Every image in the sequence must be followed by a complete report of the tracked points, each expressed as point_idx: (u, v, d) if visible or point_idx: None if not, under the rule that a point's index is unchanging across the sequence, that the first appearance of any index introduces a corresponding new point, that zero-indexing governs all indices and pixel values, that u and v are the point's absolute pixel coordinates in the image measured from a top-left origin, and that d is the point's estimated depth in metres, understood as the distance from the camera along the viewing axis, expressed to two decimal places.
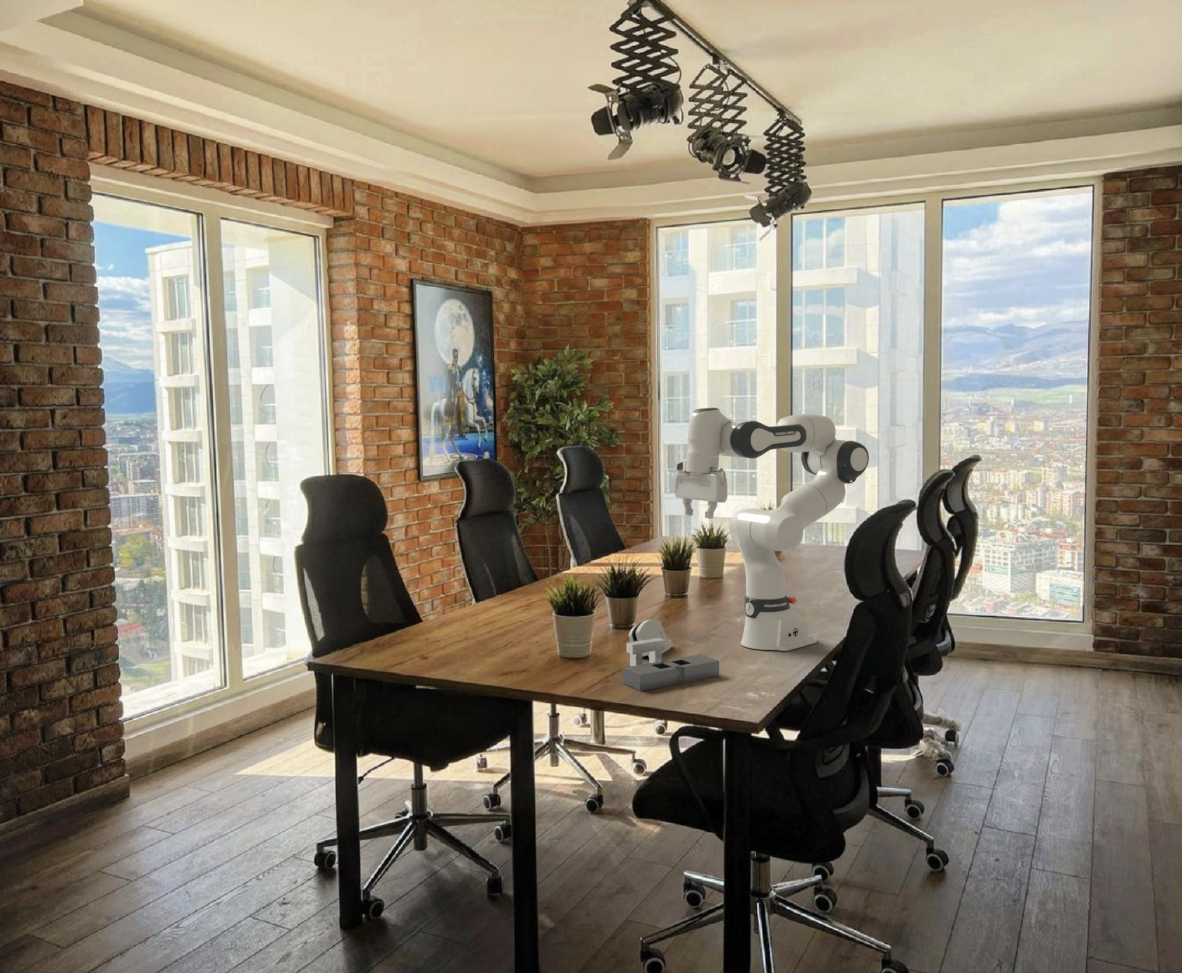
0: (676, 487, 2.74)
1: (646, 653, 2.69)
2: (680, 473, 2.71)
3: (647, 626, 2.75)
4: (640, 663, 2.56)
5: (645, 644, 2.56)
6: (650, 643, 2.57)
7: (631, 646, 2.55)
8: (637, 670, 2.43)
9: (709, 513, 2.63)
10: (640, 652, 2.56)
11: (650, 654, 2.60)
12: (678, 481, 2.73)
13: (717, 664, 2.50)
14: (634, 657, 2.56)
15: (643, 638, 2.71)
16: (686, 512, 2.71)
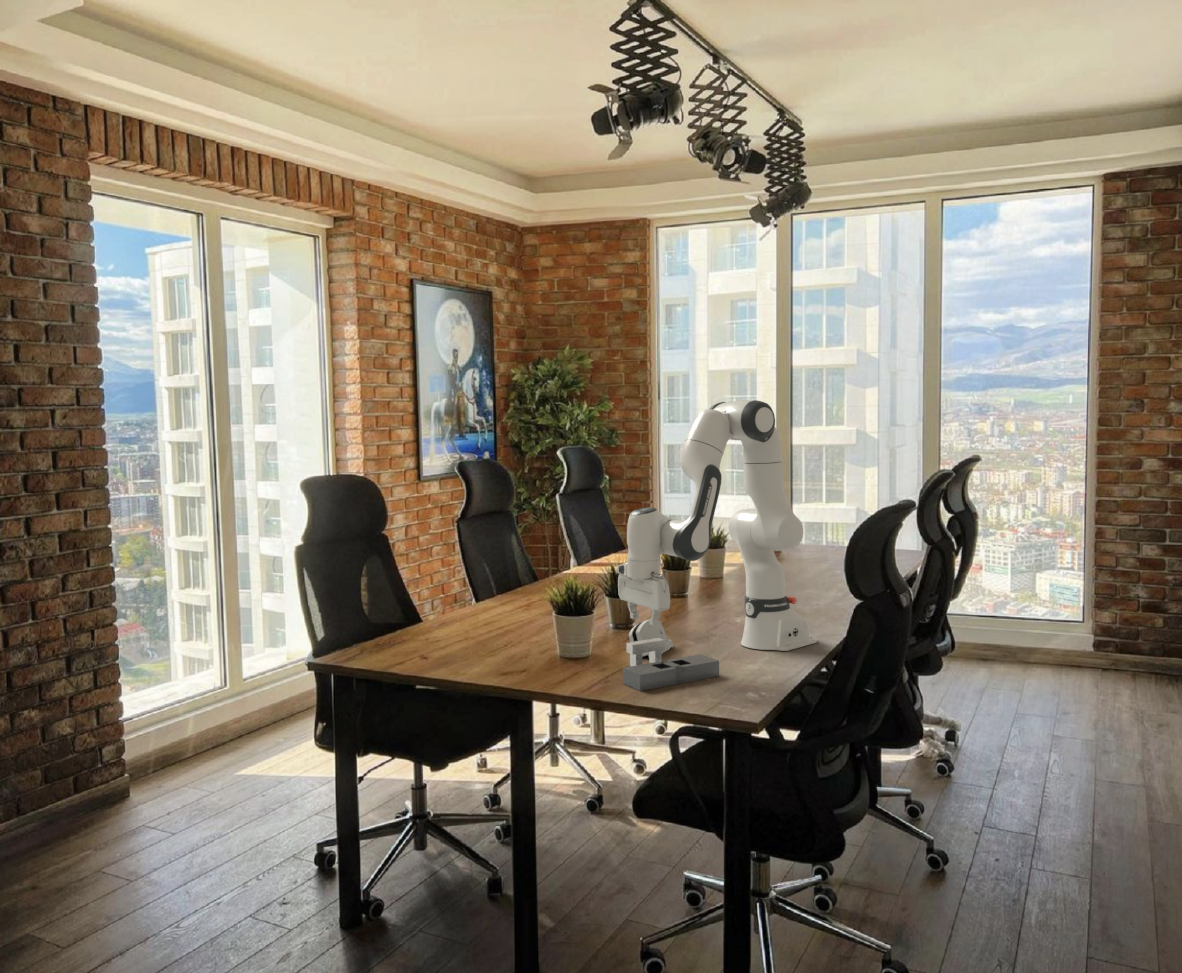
0: (620, 589, 2.63)
1: (646, 653, 2.69)
2: (622, 576, 2.61)
3: (647, 626, 2.75)
4: (640, 663, 2.56)
5: (645, 644, 2.56)
6: (650, 643, 2.57)
7: (631, 646, 2.55)
8: (637, 670, 2.43)
9: (653, 620, 2.52)
10: (640, 652, 2.56)
11: (650, 654, 2.60)
12: (621, 583, 2.63)
13: (717, 664, 2.50)
14: (634, 657, 2.56)
15: (643, 638, 2.71)
16: (631, 616, 2.61)
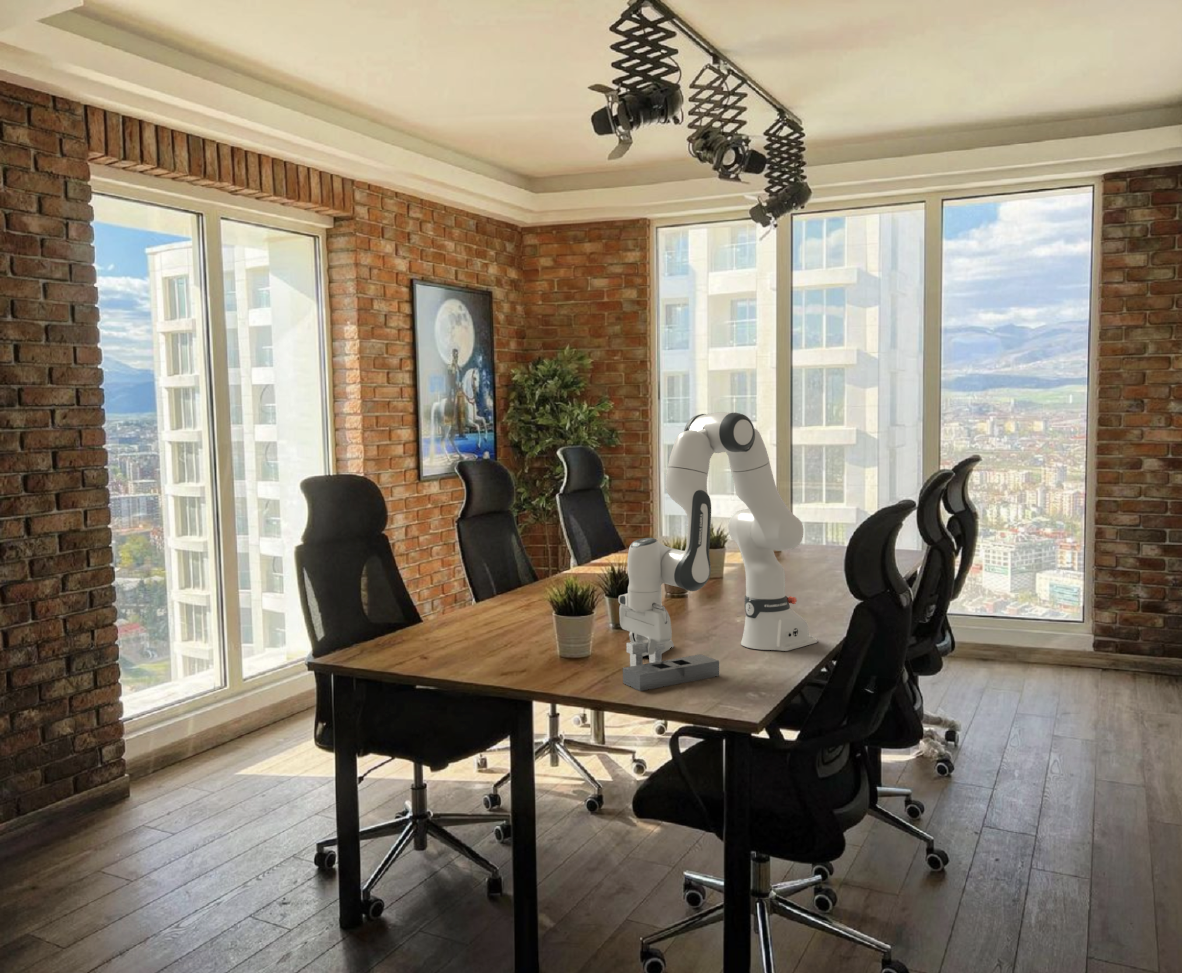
0: (621, 619, 2.64)
1: (646, 653, 2.69)
2: (623, 606, 2.61)
3: None
4: (640, 663, 2.56)
5: (645, 644, 2.56)
6: None
7: (631, 646, 2.55)
8: (637, 670, 2.43)
9: (650, 649, 2.55)
10: (640, 652, 2.56)
11: None
12: (623, 613, 2.63)
13: (717, 664, 2.50)
14: (634, 657, 2.56)
15: (643, 638, 2.71)
16: None
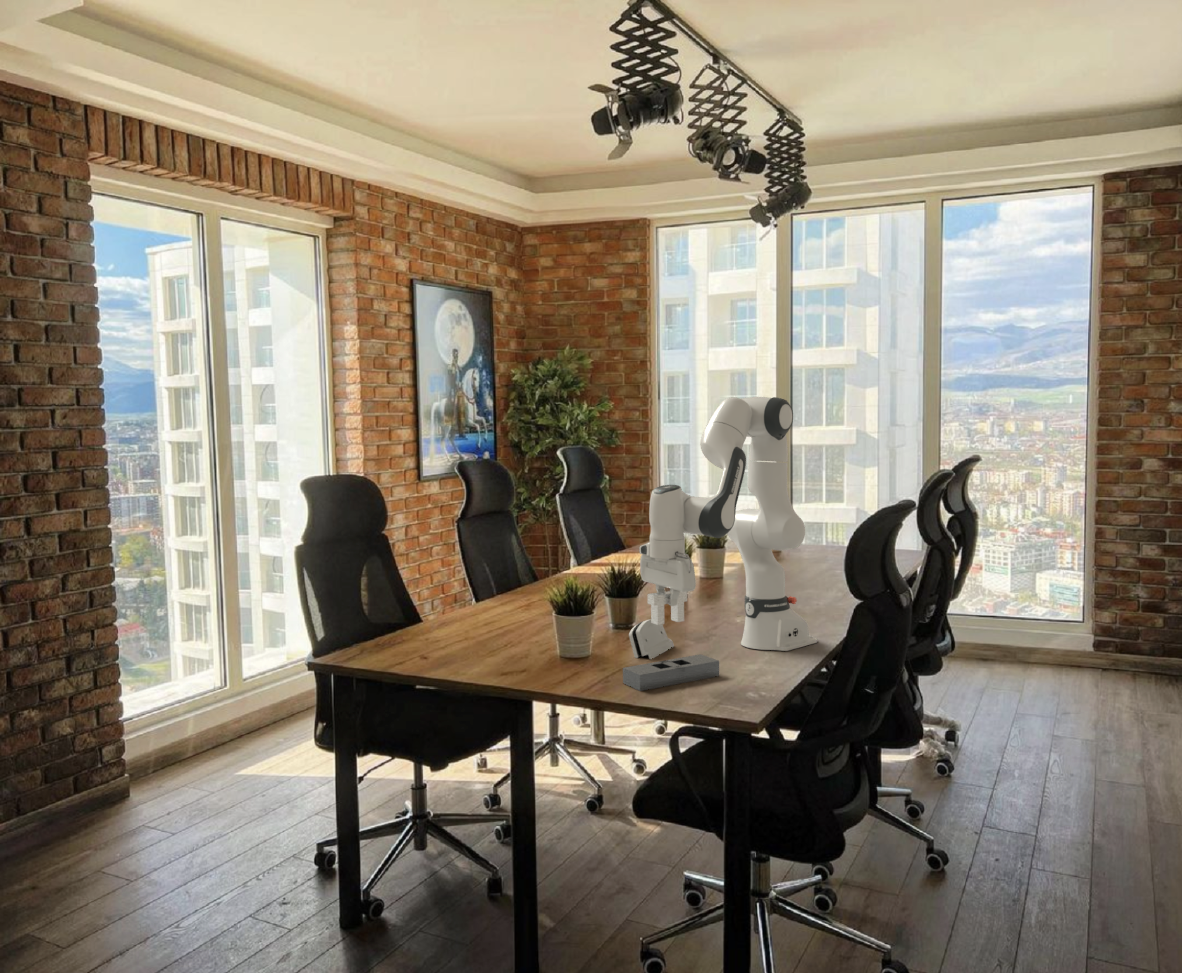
0: (642, 570, 2.53)
1: (646, 652, 2.69)
2: (645, 556, 2.50)
3: (647, 625, 2.76)
4: (662, 615, 2.45)
5: (667, 595, 2.45)
6: None
7: (652, 597, 2.44)
8: (637, 670, 2.43)
9: (672, 600, 2.44)
10: (662, 603, 2.45)
11: (672, 606, 2.49)
12: (644, 564, 2.52)
13: (717, 664, 2.50)
14: (655, 608, 2.45)
15: (643, 638, 2.71)
16: None
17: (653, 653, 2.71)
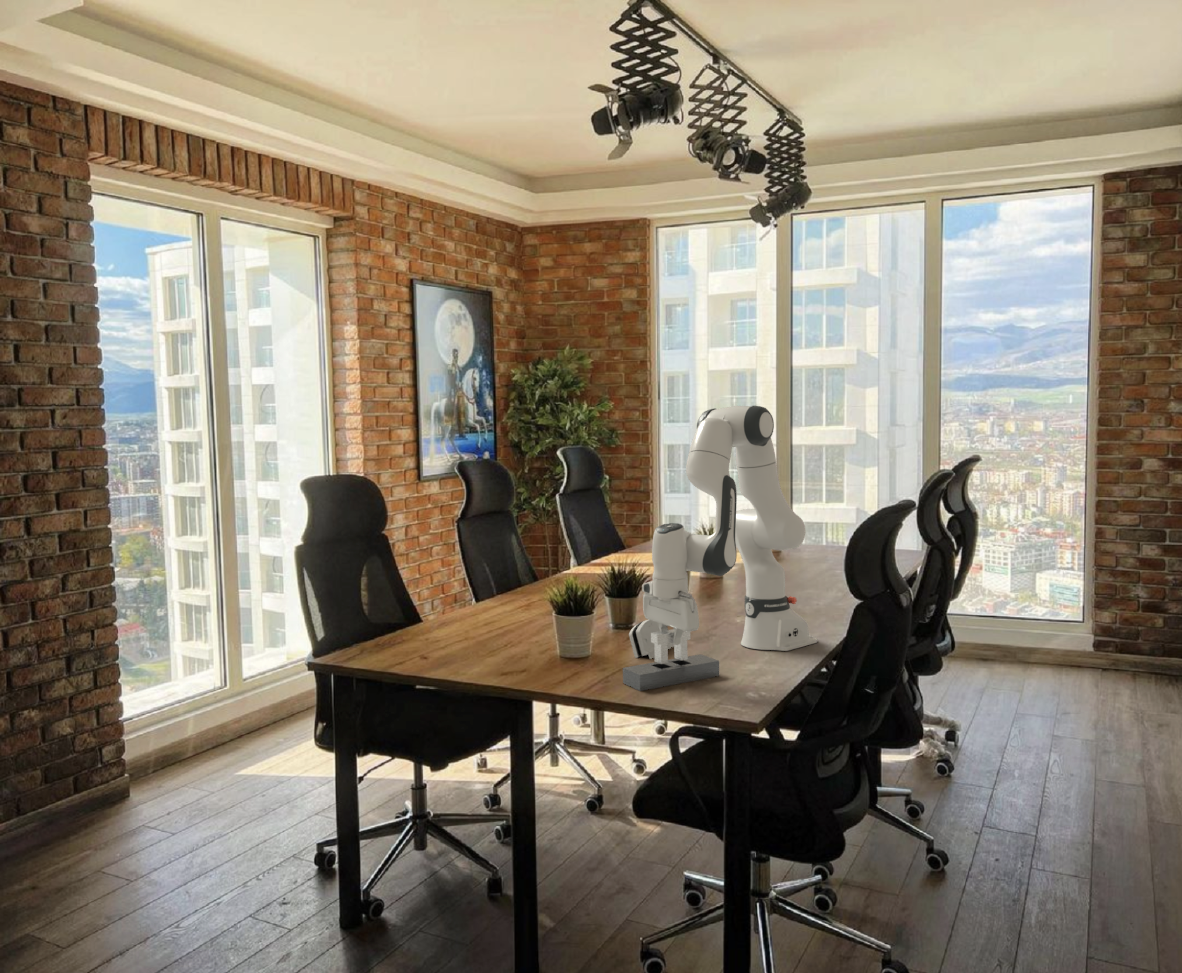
0: (645, 608, 2.53)
1: (646, 652, 2.69)
2: (647, 595, 2.51)
3: (647, 625, 2.76)
4: (665, 654, 2.45)
5: (670, 634, 2.45)
6: None
7: (656, 636, 2.44)
8: (637, 670, 2.43)
9: (676, 639, 2.44)
10: (665, 642, 2.45)
11: (675, 645, 2.49)
12: (646, 602, 2.53)
13: (717, 664, 2.50)
14: (659, 647, 2.45)
15: (643, 637, 2.71)
16: None
17: (653, 653, 2.71)
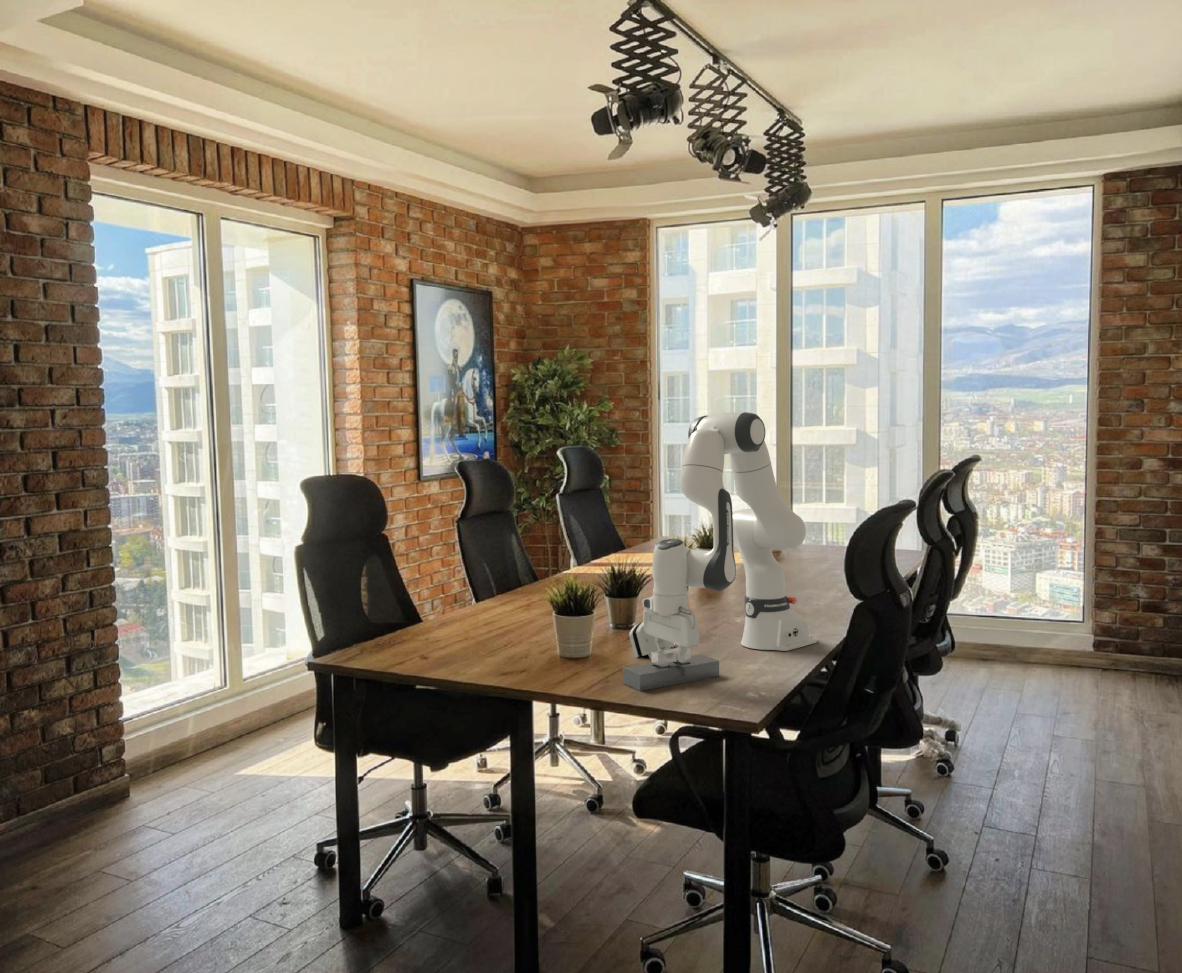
0: (645, 623, 2.54)
1: (646, 652, 2.69)
2: (648, 610, 2.51)
3: None
4: None
5: (671, 653, 2.46)
6: (676, 652, 2.46)
7: (656, 656, 2.44)
8: (637, 670, 2.43)
9: (680, 656, 2.43)
10: (666, 662, 2.45)
11: None
12: (647, 617, 2.53)
13: (717, 664, 2.50)
14: (659, 667, 2.45)
15: (643, 637, 2.72)
16: None
17: None
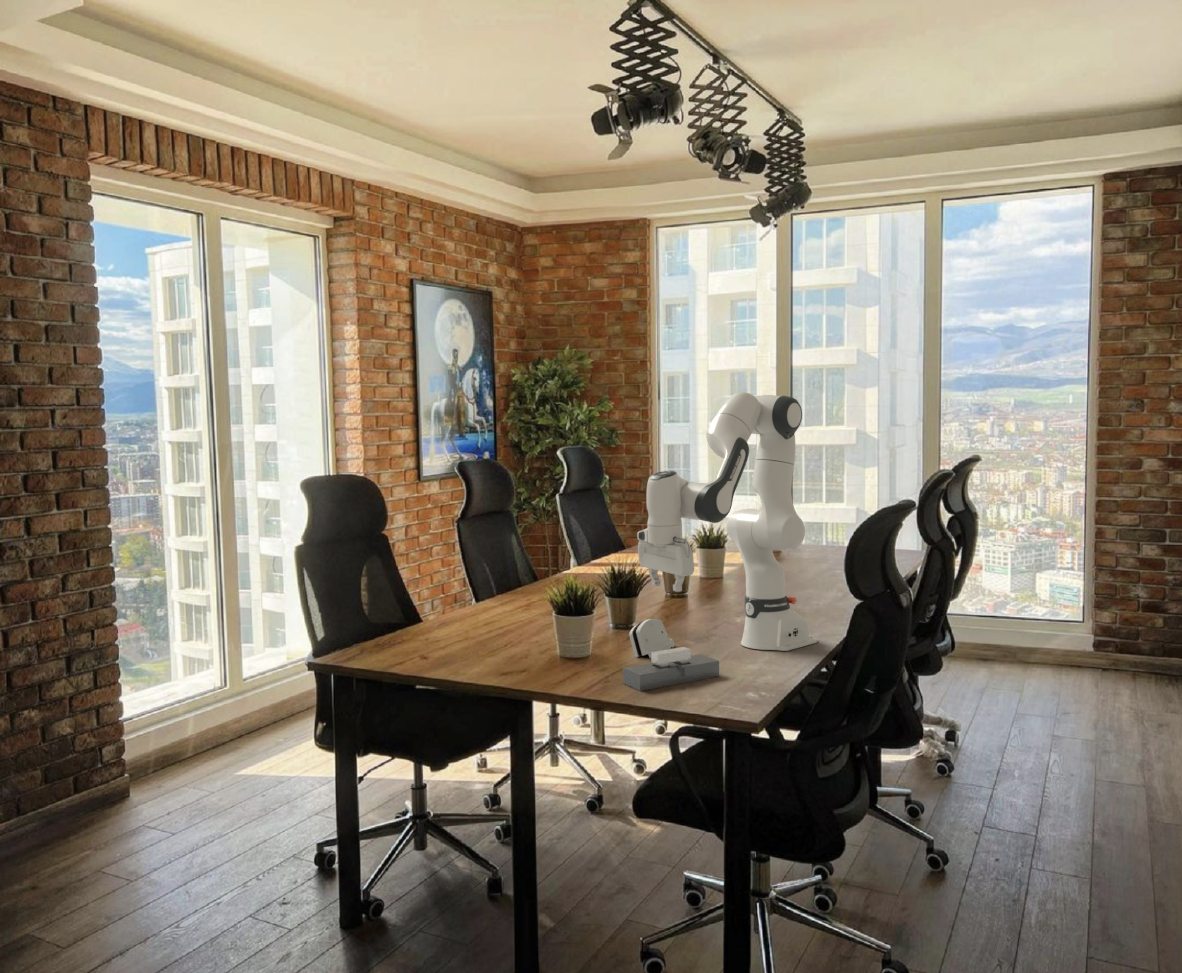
0: (640, 556, 2.57)
1: (646, 652, 2.70)
2: (643, 542, 2.54)
3: (648, 625, 2.76)
4: None
5: (671, 653, 2.46)
6: (676, 652, 2.46)
7: (656, 656, 2.44)
8: (637, 670, 2.43)
9: (677, 586, 2.46)
10: (666, 662, 2.45)
11: None
12: (641, 550, 2.56)
13: (717, 664, 2.50)
14: (659, 667, 2.45)
15: (643, 637, 2.72)
16: (653, 583, 2.55)
17: None
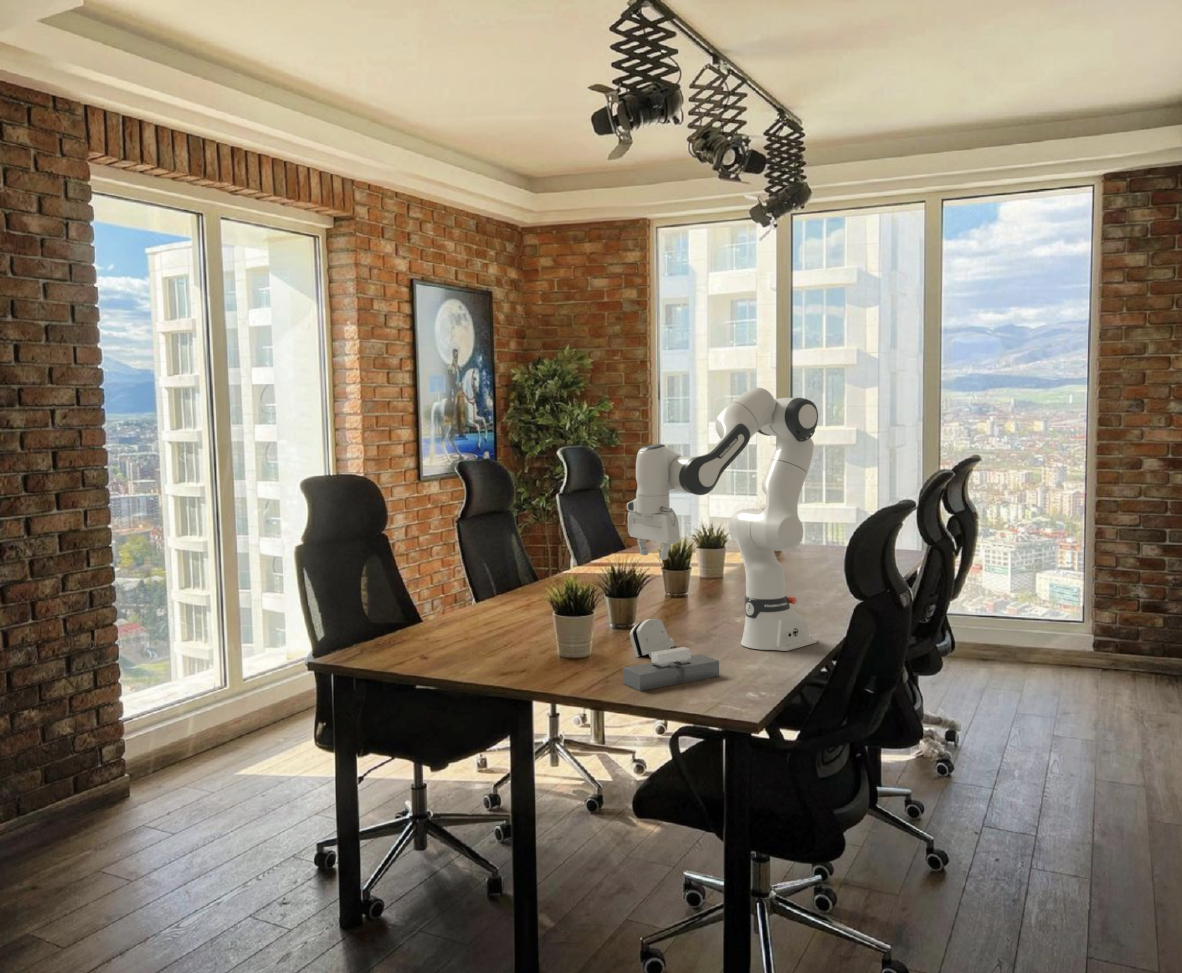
0: (629, 526, 2.67)
1: (647, 652, 2.70)
2: (632, 513, 2.64)
3: (648, 625, 2.76)
4: None
5: (671, 653, 2.46)
6: (676, 652, 2.46)
7: (656, 656, 2.44)
8: (637, 670, 2.43)
9: (663, 554, 2.56)
10: (666, 662, 2.45)
11: None
12: (631, 520, 2.66)
13: (717, 664, 2.50)
14: (659, 667, 2.45)
15: (644, 637, 2.72)
16: (641, 552, 2.65)
17: None
